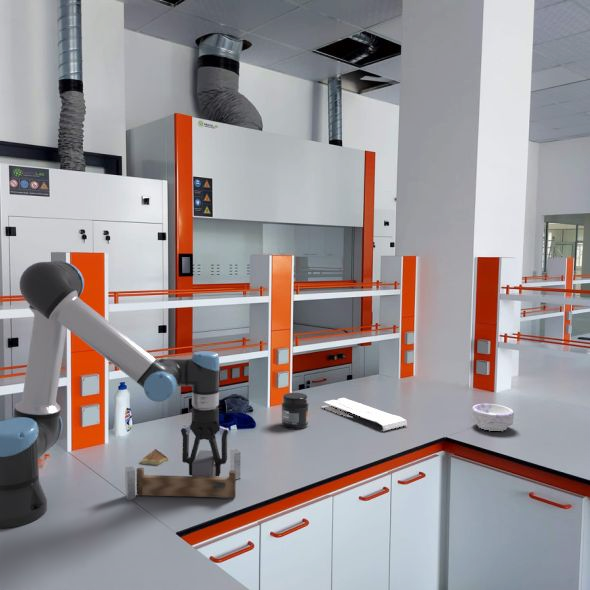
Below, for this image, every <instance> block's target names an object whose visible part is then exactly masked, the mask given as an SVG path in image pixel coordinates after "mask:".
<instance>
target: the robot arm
mask: <svg viewBox="0 0 590 590" xmlns="http://www.w3.org/2000/svg"><path fill="white" fill-rule="evenodd" d="M84 287H85V279H84V276H83V274H82V272H81V271H80V269H78V268H77V267H76V266H75V265H74V264H72V263H69V262H66V261H63V260H52V261H39V262H35V263H33V264H31V265H30V266H28V267H27V268H25V270H24V271H23V272H22V274H21V276H20V279H19V291H20V294H21V295H22V298H23V299H24V300H25V301H26V302H27V304H29V307H28V308H29V310H30V311H31V312H32V313H33V315H34V316H33V322H32V330H31V336H30V343H29V349H28V357H27V362H26V363H27V364H26V369H25V377H24V383H23V389H22V390H23V391H22V399H21V400H20V401H19V402H17V403H16V404H15V405H14V410H13V417H11V418H6V419H5V420H0V529H8V528H15V527H20V526H23V525H26V524H29V523H31V522H34V521H36V520H38V519H39V518H41V517H42V516H44V515H45V513H46V512H47V510H48V499H47V497H46V495H45V492H44V489H43V487H42V484H41V483H40V477H39V476H40V473H39V471H40V470H39V469H40V468H39V467H40V466H39V460H40V458H41V457H42V456H43V455H44V454H46V452H47V451H49V450H50V449H51V448H52V447H53V446H55V444H56V443H57V442H58V440H59V438H60V436H61V434H62V432H63V420H62V417H61V416H60V415H61V409H62V408H61V406H60V404H58V403H57V396H58V389H59V382H60V376H61V369H62V363H63V356H64V349H65V344H66V343H65V342H66V338H67V331H68V330H69V331H70V332H71V333H72V334H74V335H75V336H76V337H77V338H79V339H80V340H82V341H83V342H84V343H85V344H86V345H87V346H89V347H90V348H91V349H93V350H94V351H96V352H97V354H99V355H100V356H102V357H103V358H105V359H106V360H107V361H109V363H111V364H112V365H114V366H115V367H116V368H118V370H120V371H121V372H122V373H123V374H125V376H128V377H129V378H130V379H132V380H133V381H134V382H135V383H137V384H138V385H139V386H140V387H142V388H143V391H144V394H145V396H146V397H147V398H148V399H149V400H151V401H153V402H156V403H161V402H166V401H168V400H169V399H170V398H171V397H172V396H173V395H174V394H175V393H176V391H177V389H178V387H191V405H192V407H191V423H190V424H189V425H188V426H187V425H184V426H182V427H181V429H180V433H181V436H182V461H181V462H182V463H185V464H187V465H188V476H192V463H193V461H194V459H195V458H196V456H197V454H198V451H199V450H198V449H199V445H200V443H201V441H202V440H206V441H208V442H209V445H210V449H211V451H212V453H213V457H214V461H215V463H214V465H213V477H220V476H221V468H222V467H221V465H225V464H226V463H227V460H228V434H229V431H230V428H229V427H224V426H221V424H220V419H219V418H220V417H219V416H220V415H219V414H220V413H219V412H220V410H219V409H220V408H219V405H220V356H219V354H218V353H217V352H215V351H210V350H204V351H195V352H193V354H192V356H191V358H189V359H182V358H181V359H180V358H176V359H175V358H171V359H170V358H158V359H157V358H155V357H154V356H153V355H151V354H150V353H149V352H148V351H146V350H145V349H144V348H143V347H141V346H140V345H139V344H138V343H136V342H135V341H134V340H133V339H131V338H130V337H129V336H127V335H126V334H125V333H124V332H122V331H121V330H120V329H118V327H116V326H115V325H114V324H112V323H111V322H110V321H108V320H107V319H106V318H105V317H104V316H103V315H101V314H100V313H99V312H97V311H96V310H95V309H93V308H92V307H91V306H89V305H88V304H87V303H85V302H84V301H83V299H81V298H79V297H80V296H81V294H82V293H83V291H84ZM191 432H192V433H193V434H194V441H193V442H194V443H193V445H192V449H191V453H190V454H189V450H190V449H189V446H190V433H191ZM218 432H219V433H220V436H221V454H220V451H219V448H218V444H217V443H218V442H217V440H216V439H217V438H216V435H217V433H218ZM189 455H190V456H189Z"/></svg>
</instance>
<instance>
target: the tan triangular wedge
mask: <svg viewBox="0 0 590 590" xmlns="http://www.w3.org/2000/svg"><path fill="white" fill-rule="evenodd" d="M140 461H141V465H151V464H152V466H159V465H161V464H163V463H166V462H168V461H169V458H168V457H167V456H166V455H165V454H163V452H161V451H159V450H158V449H157V448H155V449H153V450H152V451H151V452H149V453H148V454H147V455H146V456H144V457H143V458H142V459H141V460H140Z"/></svg>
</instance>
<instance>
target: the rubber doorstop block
mask: <svg viewBox="0 0 590 590" xmlns="http://www.w3.org/2000/svg"><path fill="white" fill-rule="evenodd" d="M214 463H215V461H214V457H213V453H212V450H201V449H200V450H198V452H197V454H196V457H195V459H194V461H193V463H192V475H191V476H199V477H213V465H214Z"/></svg>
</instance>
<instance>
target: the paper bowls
mask: <svg viewBox="0 0 590 590" xmlns="http://www.w3.org/2000/svg"><path fill="white" fill-rule="evenodd" d="M471 408H472V409H471V420H472V422H474V423H476V425H477V427H478V428H479V429H480V428H481V430H482V429H484V430H483V431H485V430H489V431H488V432H490V431H502V432H504V431H503V430H505V431H506V430H507V429H508V427H511V426H512V425H513V423H514V411H513V409H511V408H510V407H507V406H505V405H501V404H494V403H478V404H477V403H476V404H475V405H473V406H472V407H471Z"/></svg>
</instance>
